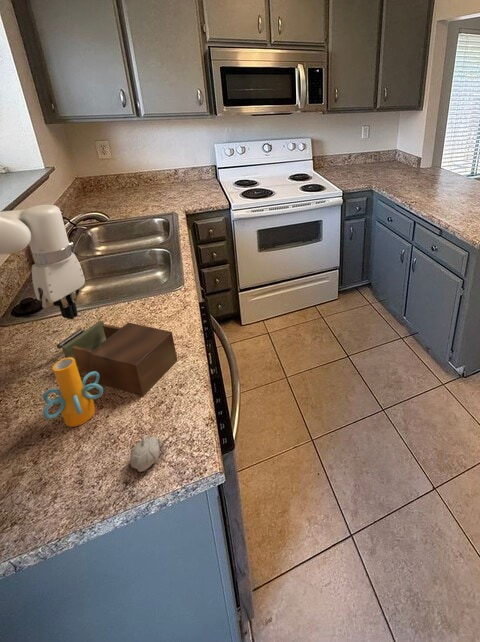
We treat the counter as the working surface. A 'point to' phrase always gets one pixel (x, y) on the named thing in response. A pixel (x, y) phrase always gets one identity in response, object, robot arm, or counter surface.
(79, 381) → the yellow vase with loops
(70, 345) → the drawer
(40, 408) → the counter surface
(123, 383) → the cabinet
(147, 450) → the garlic
